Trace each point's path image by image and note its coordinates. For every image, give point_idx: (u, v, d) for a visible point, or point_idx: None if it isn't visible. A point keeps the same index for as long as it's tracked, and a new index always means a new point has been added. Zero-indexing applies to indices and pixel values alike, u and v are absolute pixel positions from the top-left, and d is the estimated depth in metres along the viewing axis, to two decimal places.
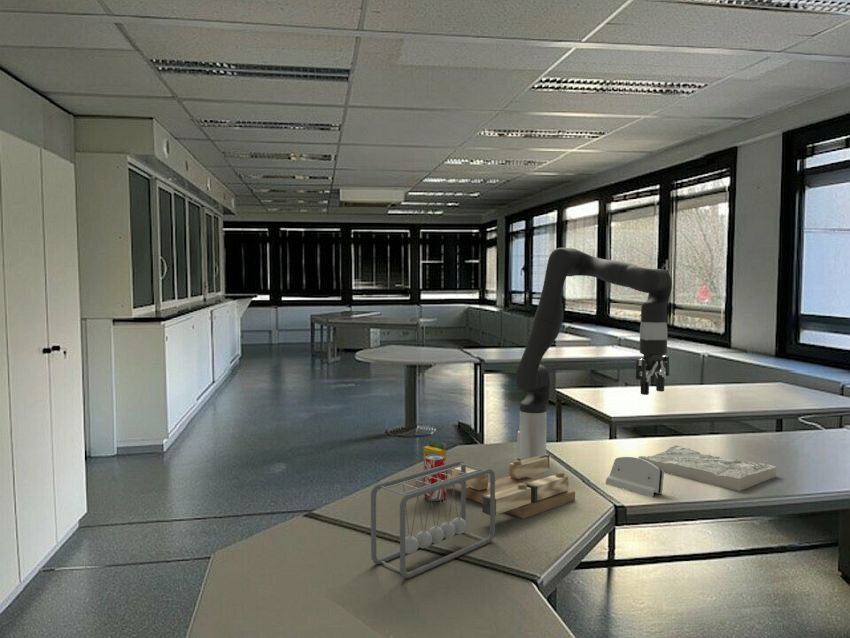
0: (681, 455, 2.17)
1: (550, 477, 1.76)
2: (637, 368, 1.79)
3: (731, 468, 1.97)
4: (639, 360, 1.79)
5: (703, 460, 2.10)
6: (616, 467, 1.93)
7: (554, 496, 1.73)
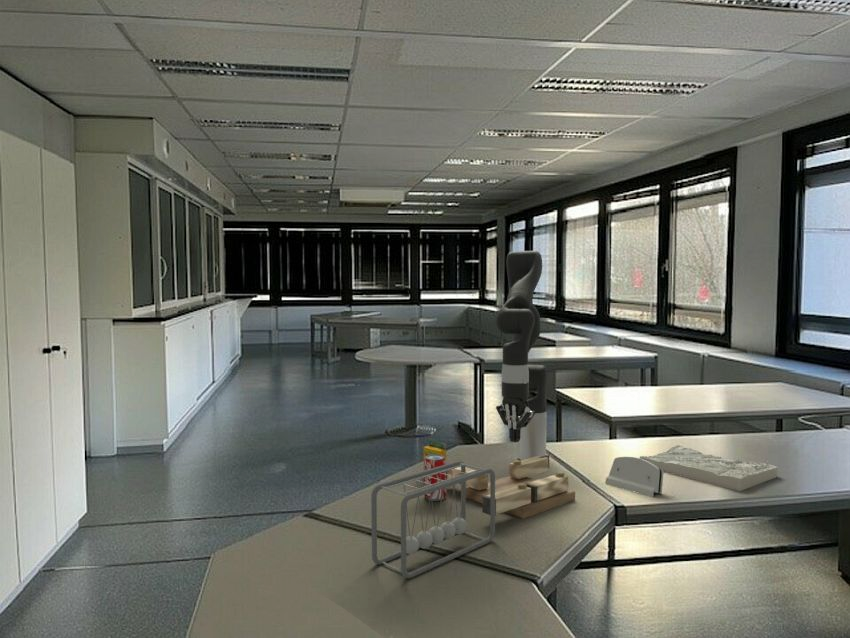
0: (682, 455, 2.17)
1: (550, 477, 1.76)
2: (526, 421, 1.72)
3: (732, 468, 1.97)
4: (531, 414, 1.71)
5: (704, 460, 2.09)
6: (616, 467, 1.93)
7: (554, 496, 1.73)
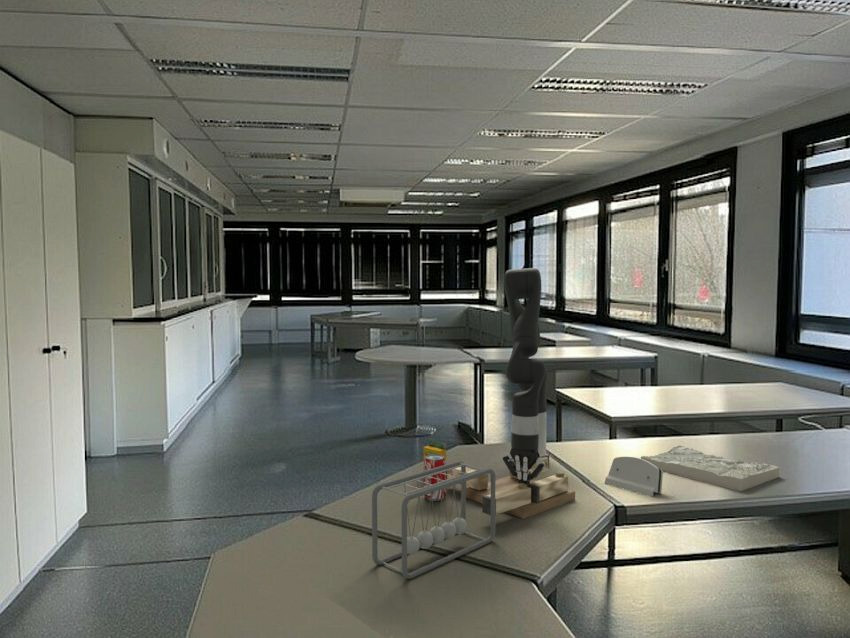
0: (684, 455, 2.17)
1: (550, 477, 1.76)
2: (538, 472, 1.70)
3: (733, 468, 1.97)
4: (544, 466, 1.69)
5: (706, 460, 2.09)
6: (615, 467, 1.93)
7: (554, 496, 1.73)
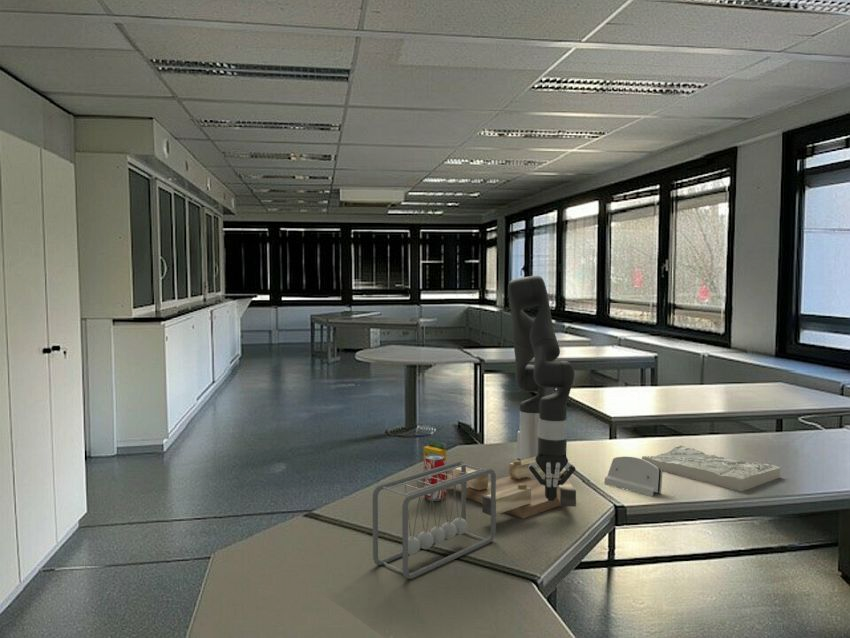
0: (685, 455, 2.17)
1: None
2: None
3: (734, 468, 1.97)
4: None
5: (707, 460, 2.09)
6: (614, 467, 1.93)
7: None
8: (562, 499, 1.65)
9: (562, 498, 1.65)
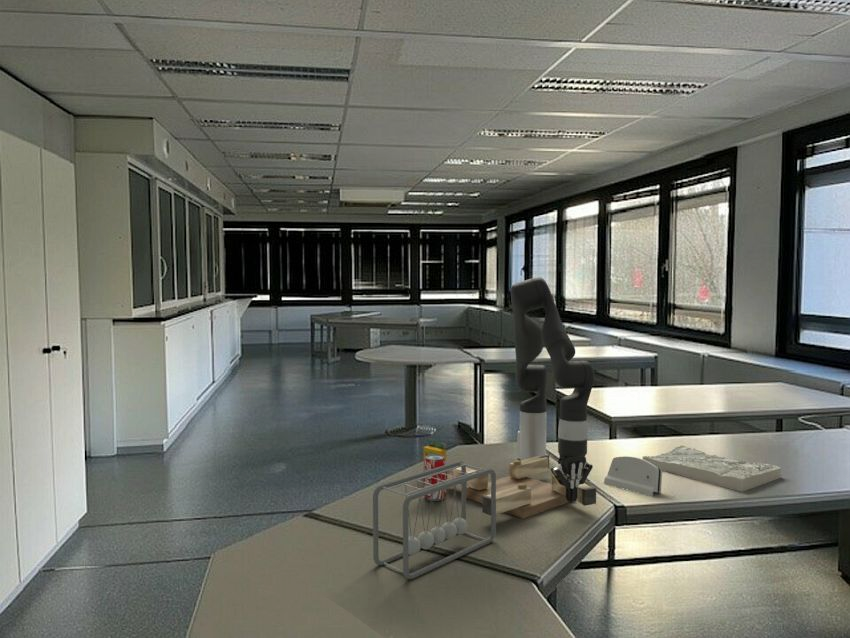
0: (686, 455, 2.17)
1: None
2: None
3: (735, 469, 1.97)
4: None
5: (708, 460, 2.09)
6: (614, 467, 1.93)
7: (554, 496, 1.73)
8: (585, 498, 1.65)
9: (585, 497, 1.65)
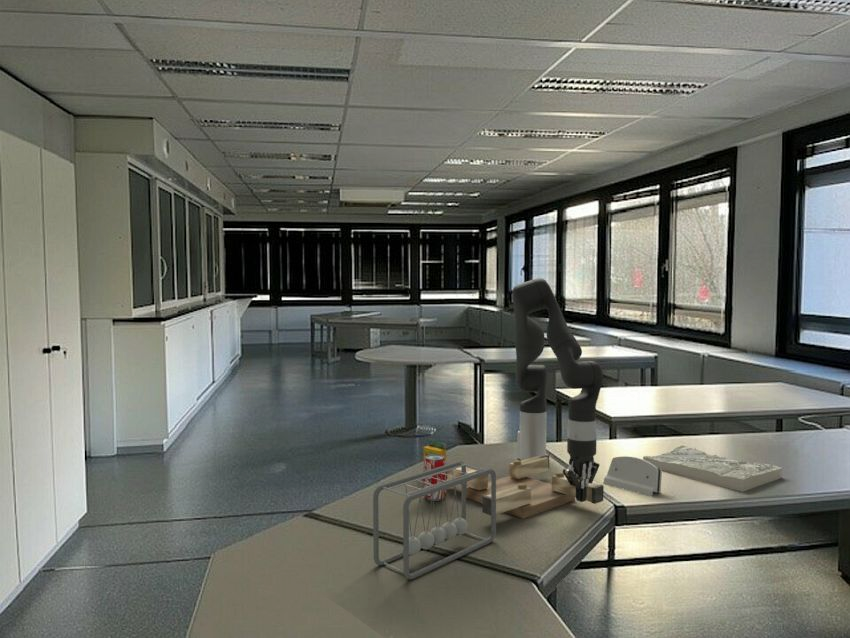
0: (687, 455, 2.17)
1: None
2: None
3: (736, 469, 1.96)
4: None
5: (708, 460, 2.09)
6: (614, 467, 1.93)
7: (554, 496, 1.73)
8: (595, 496, 1.67)
9: (595, 496, 1.67)
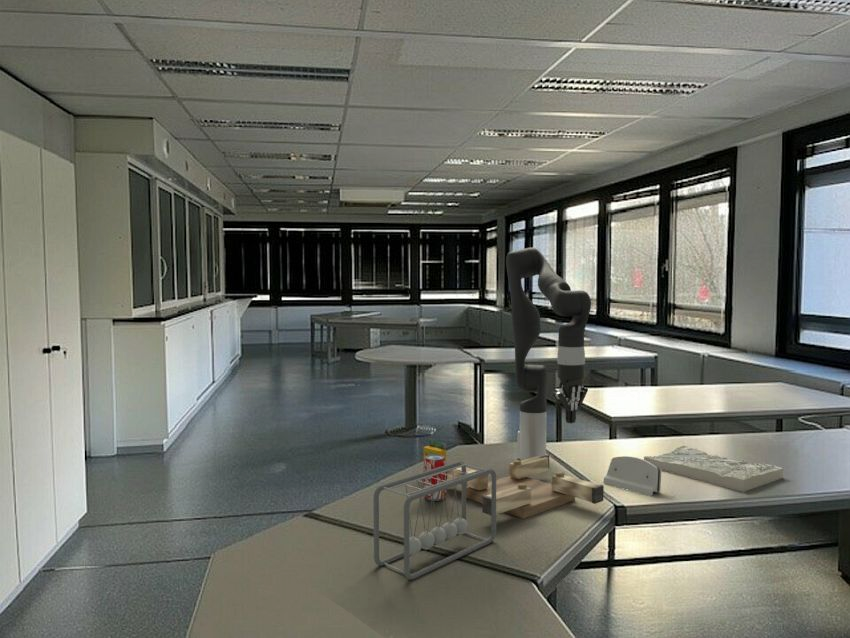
0: (688, 455, 2.17)
1: (567, 479, 1.75)
2: None
3: (736, 469, 1.96)
4: None
5: (709, 461, 2.09)
6: (613, 467, 1.93)
7: (554, 496, 1.73)
8: (595, 496, 1.67)
9: (595, 496, 1.67)
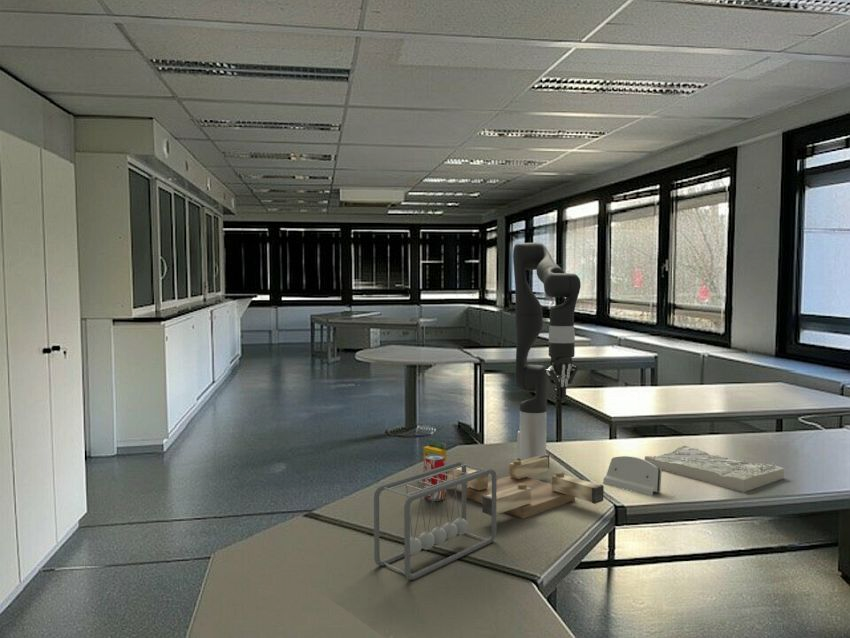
0: (688, 455, 2.17)
1: (567, 479, 1.75)
2: None
3: (737, 469, 1.96)
4: None
5: (710, 461, 2.08)
6: (613, 467, 1.93)
7: (554, 496, 1.73)
8: (595, 496, 1.67)
9: (595, 496, 1.67)
